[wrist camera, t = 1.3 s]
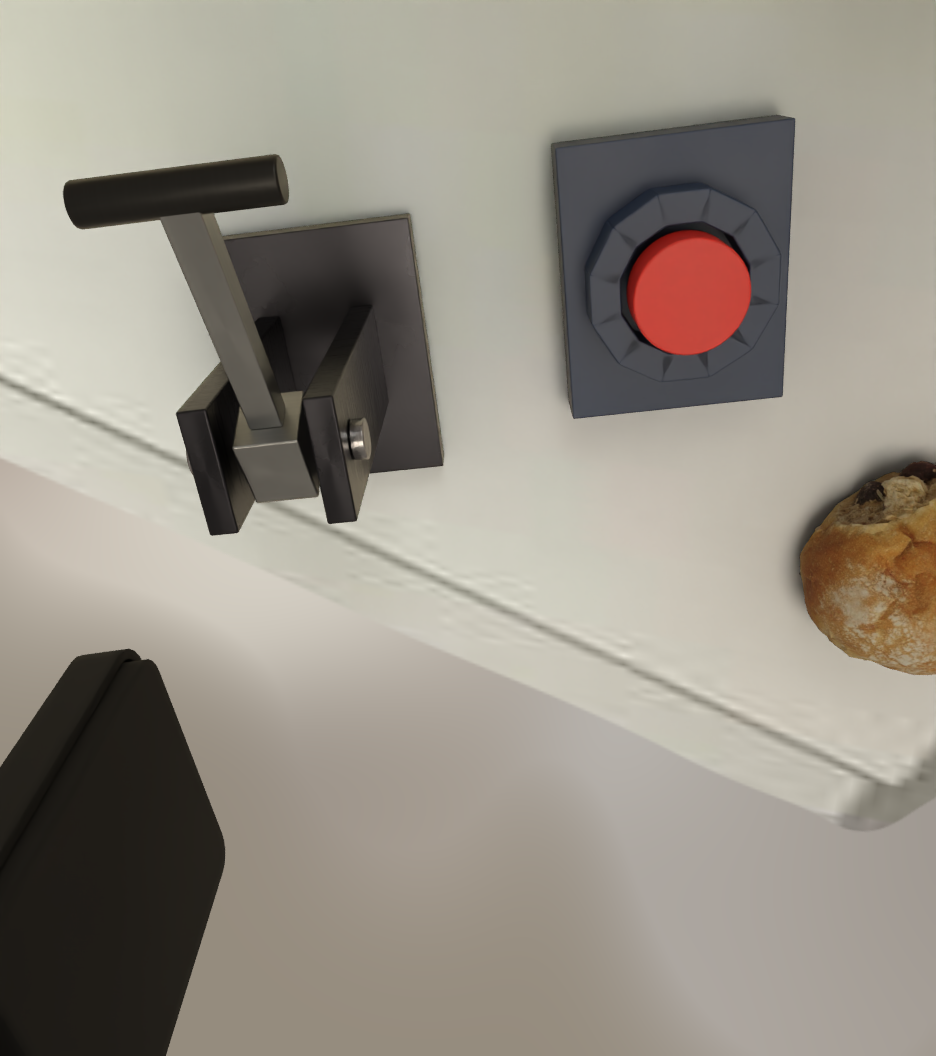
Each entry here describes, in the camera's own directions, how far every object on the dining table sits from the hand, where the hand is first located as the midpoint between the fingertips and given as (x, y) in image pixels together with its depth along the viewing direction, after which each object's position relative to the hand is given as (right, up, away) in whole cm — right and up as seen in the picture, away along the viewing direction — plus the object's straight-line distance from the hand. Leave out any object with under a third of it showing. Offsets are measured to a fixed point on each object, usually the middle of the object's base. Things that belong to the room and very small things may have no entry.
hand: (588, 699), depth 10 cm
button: (+7, +11, +25) cm, 29 cm away
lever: (-8, +8, +18) cm, 21 cm away
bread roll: (+20, +1, +35) cm, 40 cm away
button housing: (+7, +13, +28) cm, 32 cm away
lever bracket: (-8, +10, +30) cm, 33 cm away
